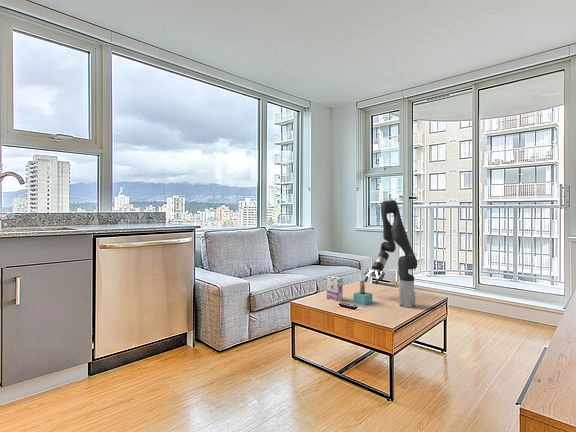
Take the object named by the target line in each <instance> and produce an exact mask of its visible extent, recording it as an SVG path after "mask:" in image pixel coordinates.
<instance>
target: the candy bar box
mask: <svg viewBox="0 0 576 432" xmlns="http://www.w3.org/2000/svg"><path fill="white" fill-rule="evenodd" d="M343 282H344V281H343V277H339V276H334V275H328V276H326V300H333V301H335V302H341V301H343V297H344V296H343V295H344V294H343V288H344V287H343Z"/></svg>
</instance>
